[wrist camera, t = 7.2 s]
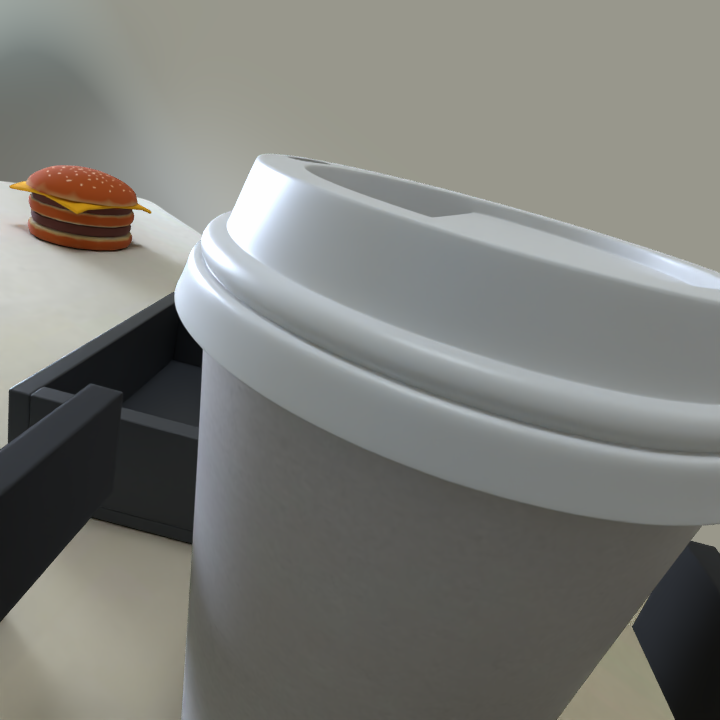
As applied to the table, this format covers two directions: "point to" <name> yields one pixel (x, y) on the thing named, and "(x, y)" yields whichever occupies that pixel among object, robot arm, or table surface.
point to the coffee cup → (432, 448)
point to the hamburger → (80, 208)
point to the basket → (135, 414)
